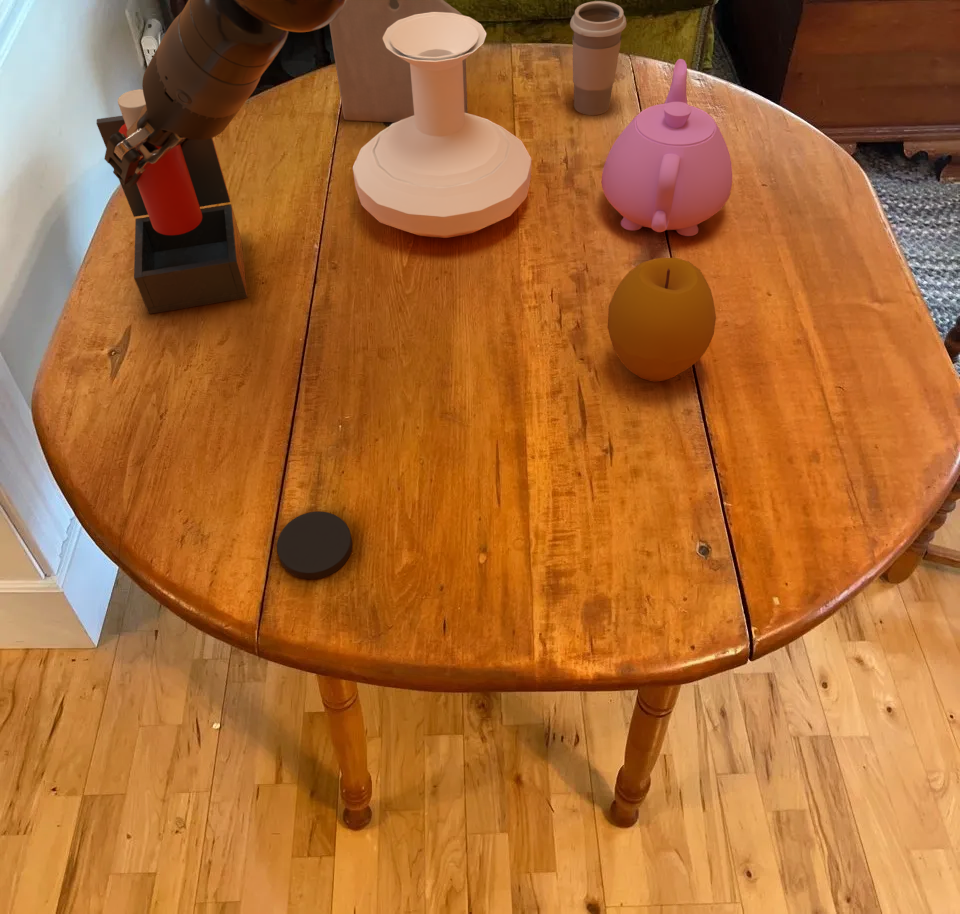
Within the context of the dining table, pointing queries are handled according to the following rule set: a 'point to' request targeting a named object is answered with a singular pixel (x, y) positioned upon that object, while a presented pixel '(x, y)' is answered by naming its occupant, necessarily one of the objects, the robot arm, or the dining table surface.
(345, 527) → the black coaster
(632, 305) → the apple
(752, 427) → the dining table surface
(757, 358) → the dining table surface
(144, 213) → the box lid
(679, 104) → the teapot
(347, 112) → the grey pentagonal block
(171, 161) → the sauce bottle
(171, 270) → the box
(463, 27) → the candle holder
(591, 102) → the cup
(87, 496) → the dining table surface
